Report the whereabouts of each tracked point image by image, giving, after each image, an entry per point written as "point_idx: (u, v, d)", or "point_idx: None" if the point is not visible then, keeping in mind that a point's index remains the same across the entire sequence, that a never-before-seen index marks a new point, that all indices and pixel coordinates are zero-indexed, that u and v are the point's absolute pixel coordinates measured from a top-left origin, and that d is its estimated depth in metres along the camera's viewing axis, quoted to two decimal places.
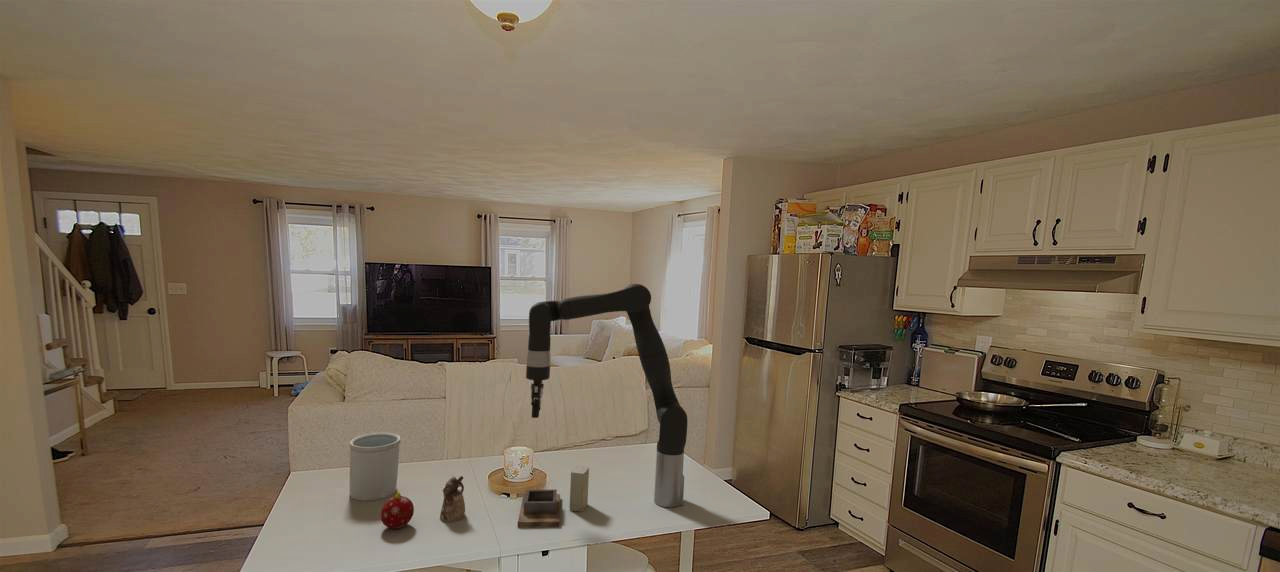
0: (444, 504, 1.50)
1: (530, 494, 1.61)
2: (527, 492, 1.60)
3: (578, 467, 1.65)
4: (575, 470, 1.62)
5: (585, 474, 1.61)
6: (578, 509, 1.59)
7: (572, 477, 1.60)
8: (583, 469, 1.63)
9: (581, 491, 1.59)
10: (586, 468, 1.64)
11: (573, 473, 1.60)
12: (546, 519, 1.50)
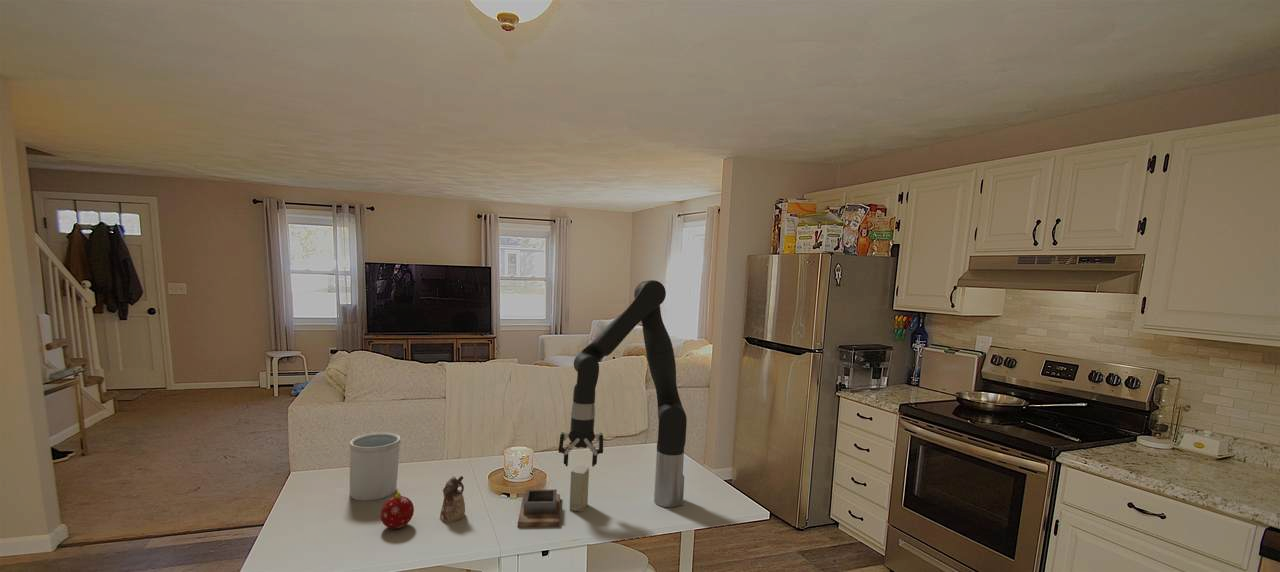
0: (444, 504, 1.50)
1: (530, 494, 1.61)
2: (527, 492, 1.60)
3: (578, 467, 1.65)
4: (575, 470, 1.62)
5: (585, 474, 1.61)
6: (578, 509, 1.59)
7: (572, 477, 1.60)
8: (583, 469, 1.63)
9: (581, 491, 1.59)
10: (586, 468, 1.64)
11: (573, 473, 1.60)
12: (546, 519, 1.50)
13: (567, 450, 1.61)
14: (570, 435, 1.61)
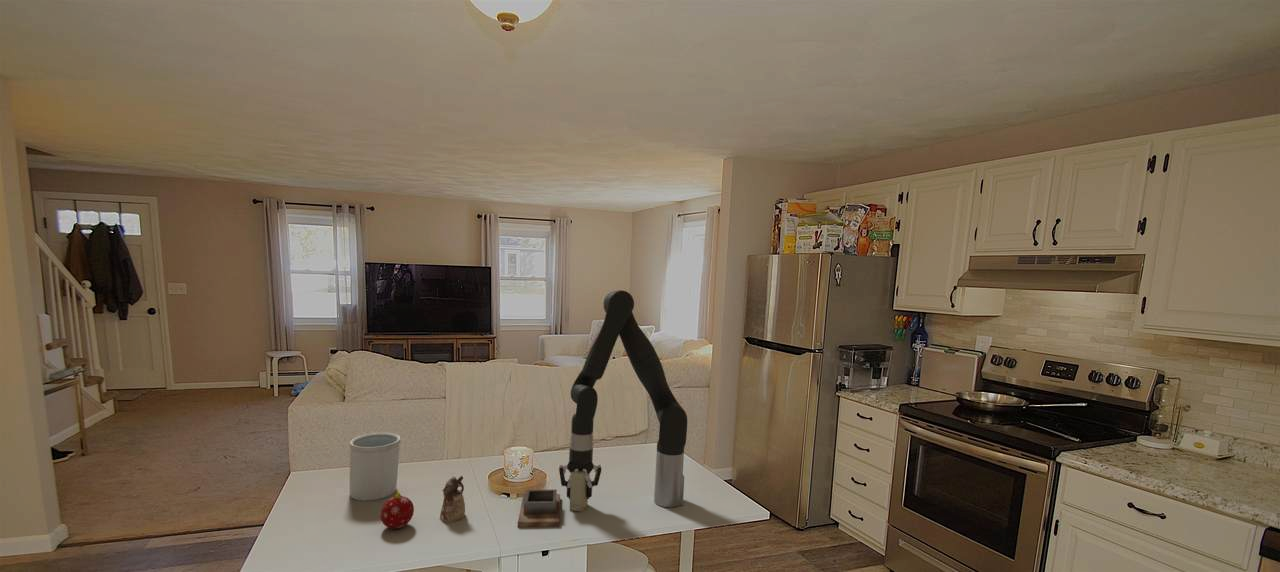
0: (444, 504, 1.50)
1: (530, 494, 1.61)
2: (527, 492, 1.60)
3: None
4: None
5: None
6: (578, 509, 1.59)
7: (572, 477, 1.60)
8: None
9: (581, 491, 1.59)
10: None
11: (573, 473, 1.60)
12: (546, 519, 1.50)
13: (569, 483, 1.61)
14: (568, 466, 1.61)
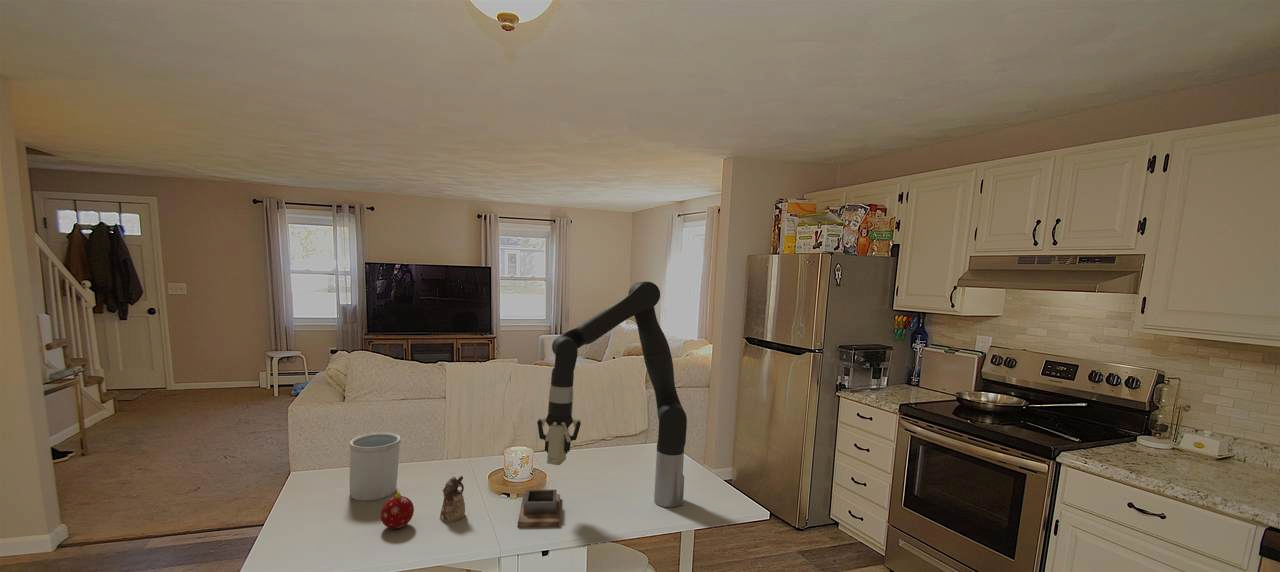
0: (444, 504, 1.50)
1: (530, 494, 1.61)
2: (527, 492, 1.60)
3: None
4: None
5: (564, 428, 1.59)
6: (556, 463, 1.57)
7: (551, 430, 1.57)
8: None
9: (559, 444, 1.57)
10: None
11: (552, 426, 1.57)
12: (546, 519, 1.50)
13: (547, 436, 1.58)
14: (547, 419, 1.58)
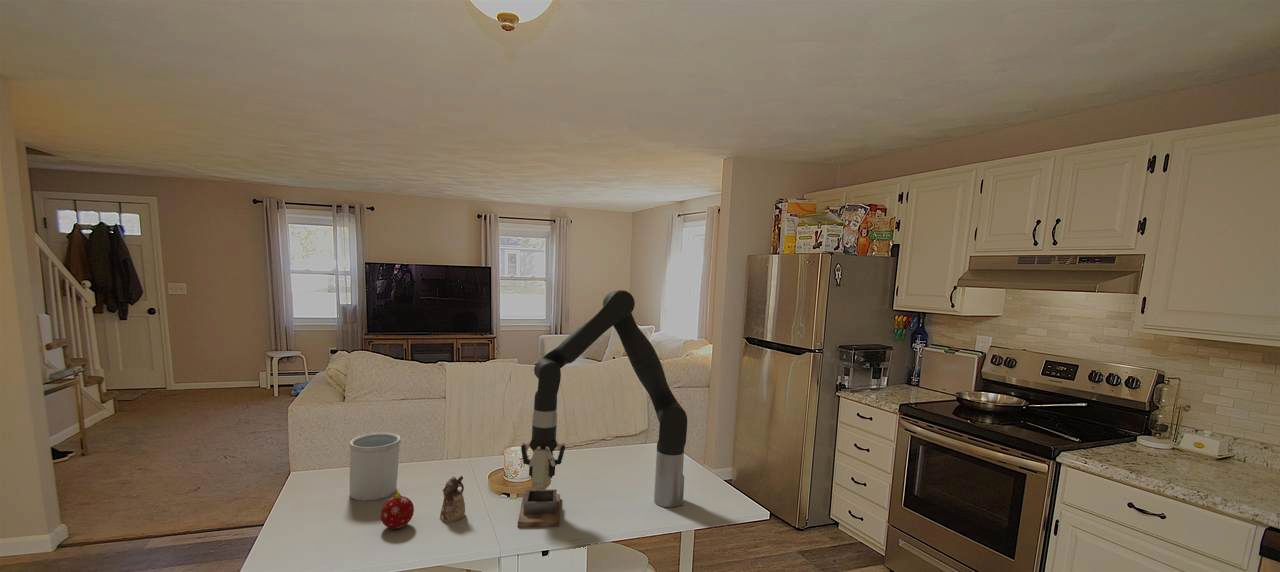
0: (444, 504, 1.50)
1: (530, 494, 1.61)
2: (527, 492, 1.60)
3: None
4: None
5: (548, 452, 1.57)
6: (540, 488, 1.55)
7: (535, 455, 1.55)
8: None
9: (544, 469, 1.55)
10: None
11: (536, 451, 1.55)
12: (546, 519, 1.50)
13: (532, 461, 1.56)
14: (531, 444, 1.56)
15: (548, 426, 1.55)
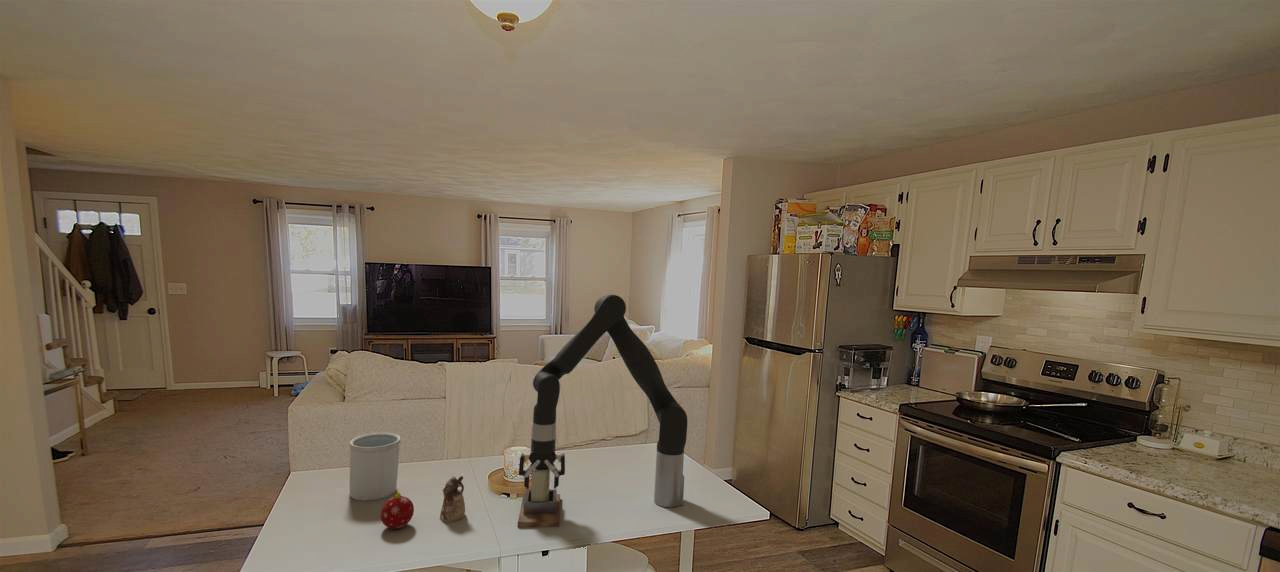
0: (444, 504, 1.50)
1: (530, 494, 1.61)
2: (527, 492, 1.60)
3: None
4: (536, 469, 1.57)
5: (546, 473, 1.57)
6: None
7: (533, 476, 1.55)
8: None
9: (542, 490, 1.55)
10: None
11: (534, 472, 1.55)
12: (546, 519, 1.50)
13: (527, 472, 1.56)
14: (530, 457, 1.56)
15: (547, 439, 1.55)
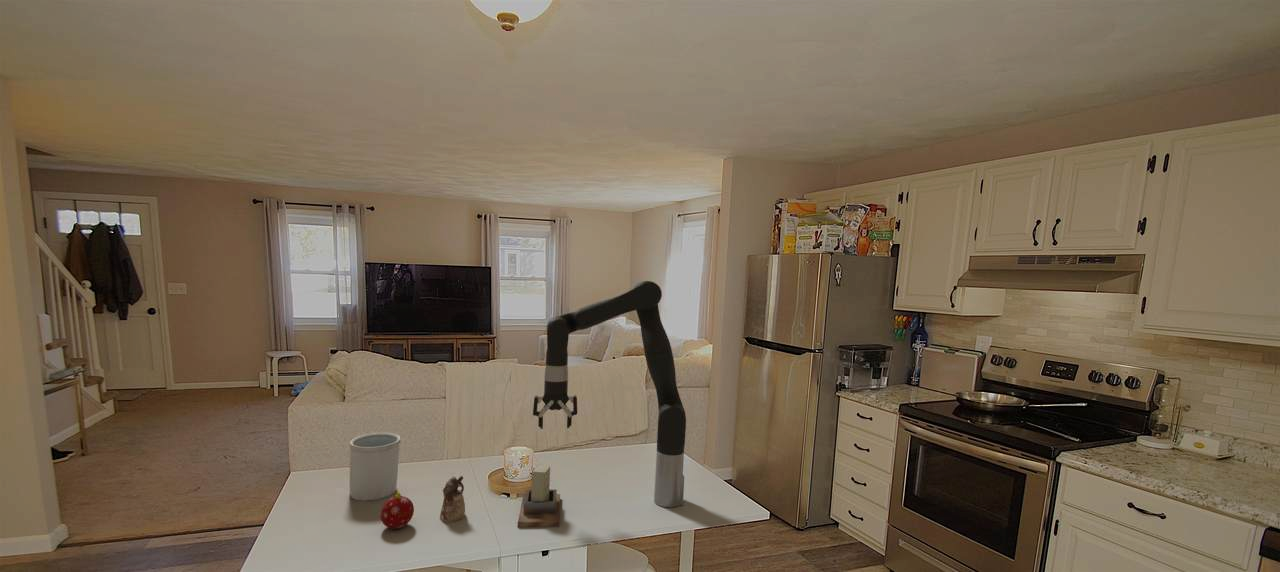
0: (444, 504, 1.50)
1: (530, 494, 1.61)
2: (527, 492, 1.60)
3: (539, 466, 1.60)
4: (536, 469, 1.57)
5: (546, 473, 1.57)
6: None
7: (533, 476, 1.55)
8: (545, 468, 1.59)
9: (543, 490, 1.55)
10: (547, 467, 1.60)
11: (534, 472, 1.55)
12: (546, 519, 1.50)
13: (541, 413, 1.63)
14: (544, 398, 1.63)
15: (560, 380, 1.61)
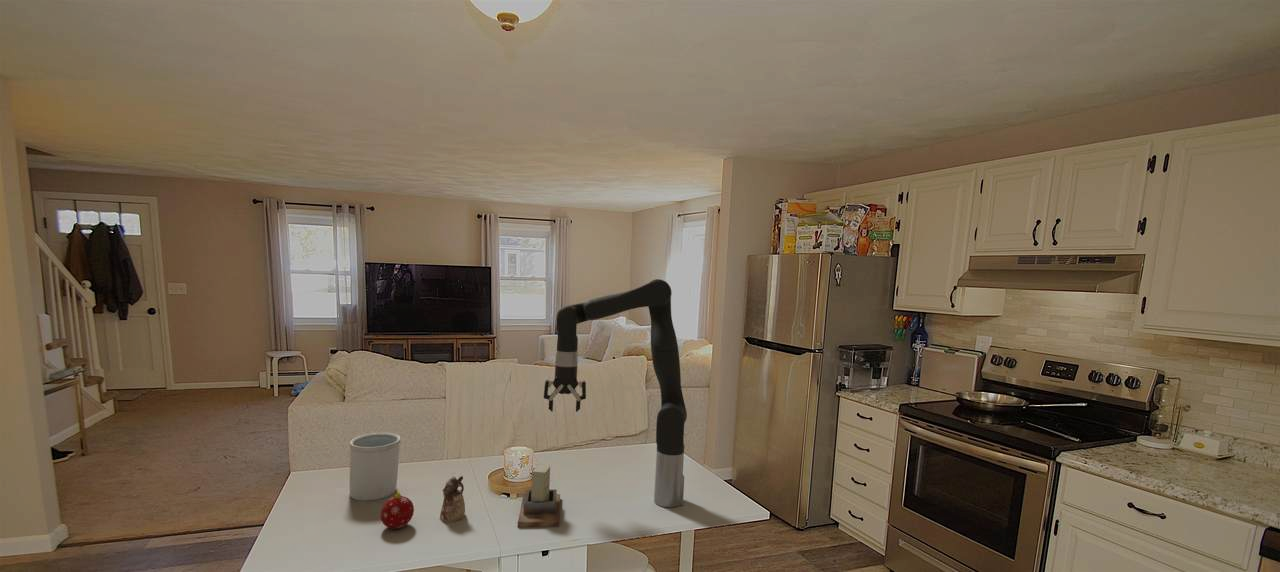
0: (444, 504, 1.50)
1: (530, 494, 1.61)
2: (527, 492, 1.60)
3: (539, 466, 1.60)
4: (536, 469, 1.57)
5: (547, 473, 1.57)
6: None
7: (533, 476, 1.55)
8: (545, 468, 1.59)
9: (543, 490, 1.55)
10: (547, 467, 1.60)
11: (534, 472, 1.55)
12: (546, 519, 1.50)
13: (552, 396, 1.71)
14: (554, 382, 1.71)
15: (570, 365, 1.69)
